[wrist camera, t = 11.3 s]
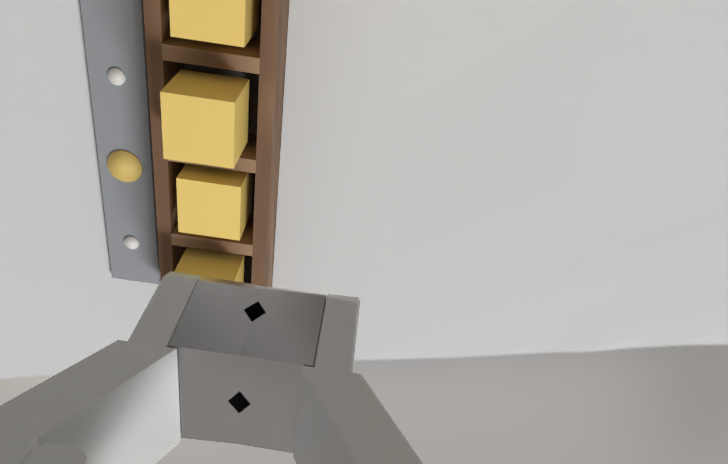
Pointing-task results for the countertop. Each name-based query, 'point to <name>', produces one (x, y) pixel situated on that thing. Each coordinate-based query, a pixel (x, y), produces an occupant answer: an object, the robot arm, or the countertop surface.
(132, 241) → the pattern card
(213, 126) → the yellow cube
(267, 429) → the robot arm
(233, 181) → the yellow cube
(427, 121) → the countertop surface
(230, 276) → the yellow cube
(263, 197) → the wooden compartment tray
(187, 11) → the pale yellow cube
